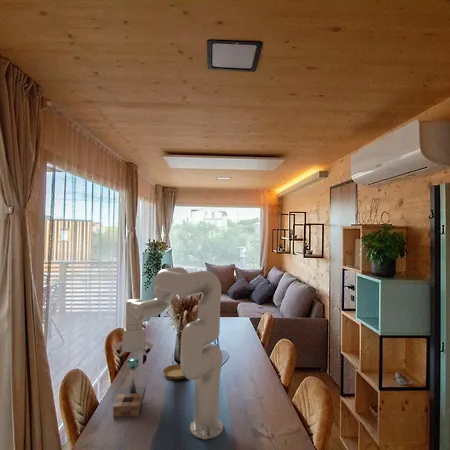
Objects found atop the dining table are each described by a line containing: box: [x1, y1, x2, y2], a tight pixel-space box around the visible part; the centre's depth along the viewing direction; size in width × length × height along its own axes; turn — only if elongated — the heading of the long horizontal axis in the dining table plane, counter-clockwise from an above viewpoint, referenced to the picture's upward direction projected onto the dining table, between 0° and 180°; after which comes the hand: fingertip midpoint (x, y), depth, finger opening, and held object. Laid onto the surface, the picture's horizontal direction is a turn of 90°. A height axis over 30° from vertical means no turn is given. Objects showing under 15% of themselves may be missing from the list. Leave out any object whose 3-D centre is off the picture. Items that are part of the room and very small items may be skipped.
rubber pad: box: [120, 386, 146, 399], centre depth 149 cm, size 10×10×1 cm
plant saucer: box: [162, 363, 186, 380], centre depth 169 cm, size 15×15×3 cm
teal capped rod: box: [127, 357, 140, 394], centre depth 149 cm, size 5×5×15 cm
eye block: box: [112, 393, 143, 417], centre depth 136 cm, size 10×10×4 cm
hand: (133, 363), depth 149 cm, fingers open, 9 cm apart
